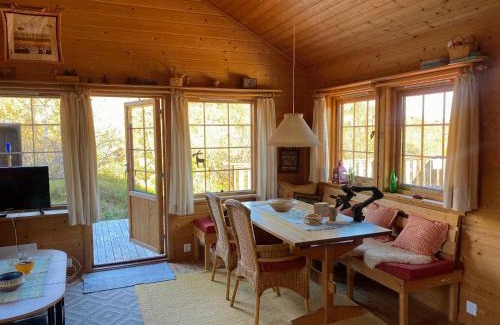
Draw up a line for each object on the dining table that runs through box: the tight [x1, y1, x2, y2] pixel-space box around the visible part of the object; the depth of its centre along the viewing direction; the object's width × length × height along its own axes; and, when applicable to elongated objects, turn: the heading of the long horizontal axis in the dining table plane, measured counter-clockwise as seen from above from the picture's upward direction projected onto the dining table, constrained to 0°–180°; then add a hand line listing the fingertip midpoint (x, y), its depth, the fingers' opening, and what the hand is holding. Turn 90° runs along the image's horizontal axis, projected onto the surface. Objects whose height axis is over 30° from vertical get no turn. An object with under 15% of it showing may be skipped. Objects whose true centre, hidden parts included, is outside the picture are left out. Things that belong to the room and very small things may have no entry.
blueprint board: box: [325, 219, 350, 226], centre depth 328 cm, size 18×11×2 cm, turn 91°
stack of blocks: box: [313, 201, 338, 218], centre depth 358 cm, size 21×6×12 cm, turn 103°
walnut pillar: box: [328, 207, 337, 222], centre depth 329 cm, size 4×4×12 cm
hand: (337, 210), depth 330 cm, fingers open, 9 cm apart
